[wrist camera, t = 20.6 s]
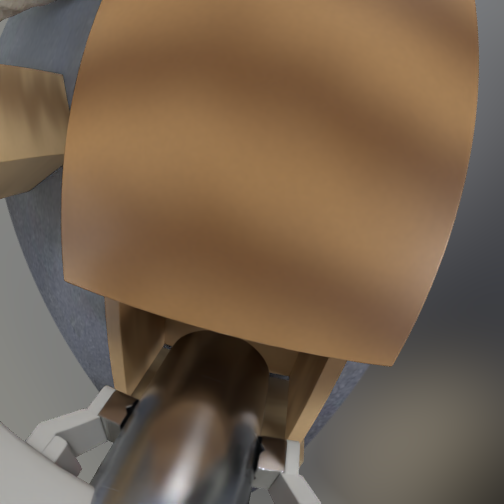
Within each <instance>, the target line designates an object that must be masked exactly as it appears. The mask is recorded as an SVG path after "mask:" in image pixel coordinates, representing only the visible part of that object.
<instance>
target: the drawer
mask: <svg viewBox="0 0 504 504" xmlns="http://www.w3.org/2000/svg"><path fill="white" fill-rule="evenodd" d="M104 299H105V314H106V326H107V336H108V345H109V354H110V361H111V368H112V375H113V381H114V387H115V389H116V390H118V391H121V392H123V393H125V394H127V395H130V396H132V397H134V398H137V399H139V400H140V398H141V397H142V395H143V393H144V392H145V390H146V388H147V387H148V385H149V383H150V382H151V380H152V379H153V377H154V375H155V374H156V372H157V370H158V369H159V367H160V366H161V364H162V362H163V361H164V359H165V358H166V356H167V354H168V353H169V351H170V349H167V348H164V347H163V346H164V344H167V345H170V346H173V345H174V343H175V342H176V341H177V340H178V339H180V338H181V337H182V336H184V335H186V334H189V333H191V332H195V331H202V330H206V329H203V328H199V327H196V326H192V325H189V324H185V323H182V322H179V321H175V320H172V319H169V318H166V317H162V316H159V315H156V314H153V313H150V312H147V311H144V310H141V309H138V308H135V307H132V306H129V305H126V304H123V303H121V302H118V301H115V300H112V299H109V298H107V297H104ZM242 340H244V339H242ZM244 341H246V342H247V343H249V344H250V345H252V346H253V347H254V348H255V349H256V350H257V351H258V352H259V353H260V354H261V355H262V357H263V358H264V360H265V361H266V364H267V366H268V369H269V372H270V373H275V374H280V375H285V376H289V380H285V379H280V378H275V377H270V378H269V386H268V393H267V400H266V407H265V413H264V420H263V426H262V432H261V436H262V435H263V436H269V437H275V438H282V439H286V440H293V441H299V443H300V457H299V467H300V466H301V464H302V463H303V457H304V437H305V436H306V434H307V432H308V431H309V429H310V428H311V426H312V424H313V423H314V421H315V419H316V418H317V416H318V414H319V412H320V411H321V409H322V407H323V405H324V404H325V402H326V400H327V398H328V396H329V395H330V393H331V391H332V389H333V387H334V385H335V383H336V381H337V380H338V378H339V376H340V374H341V372H342V370H343V368H344V366H345V364H346V362H347V360H341V359H335V358H330V357H324V356H318V355H313V354H308V353H303V352H298V351H293V350H288V349H283V348H279V347H274V346H270V345H265V344H261V343H257V342H253V341H248V340H244Z"/></svg>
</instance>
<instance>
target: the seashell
mask: <svg viewBox="0 0 504 504" xmlns="http://www.w3.org/2000/svg"><path fill="white" fill-rule="evenodd" d="M54 1H56V0H0V22H1V21H2V20H4V19H6V18H9V17H12V16H15V15H17V14H19V13H21V12H23V11H25V10H27V9H30V8H32V7H36V6H44V5H48V4H50V3H52V2H54Z"/></svg>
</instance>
